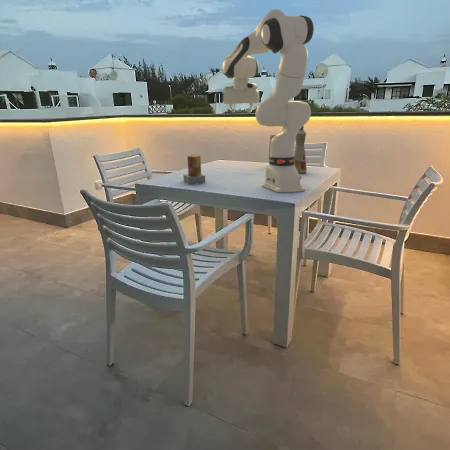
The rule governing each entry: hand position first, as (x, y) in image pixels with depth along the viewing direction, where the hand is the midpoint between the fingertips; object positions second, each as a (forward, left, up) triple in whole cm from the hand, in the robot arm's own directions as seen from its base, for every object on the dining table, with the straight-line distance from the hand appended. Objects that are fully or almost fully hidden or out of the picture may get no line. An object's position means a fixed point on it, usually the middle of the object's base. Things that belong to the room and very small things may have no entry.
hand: (241, 112), depth 185 cm
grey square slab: (-17, +30, -34) cm, 49 cm away
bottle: (-10, -32, -34) cm, 48 cm away
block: (+14, -28, -34) cm, 46 cm away
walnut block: (-18, +30, -30) cm, 46 cm away
